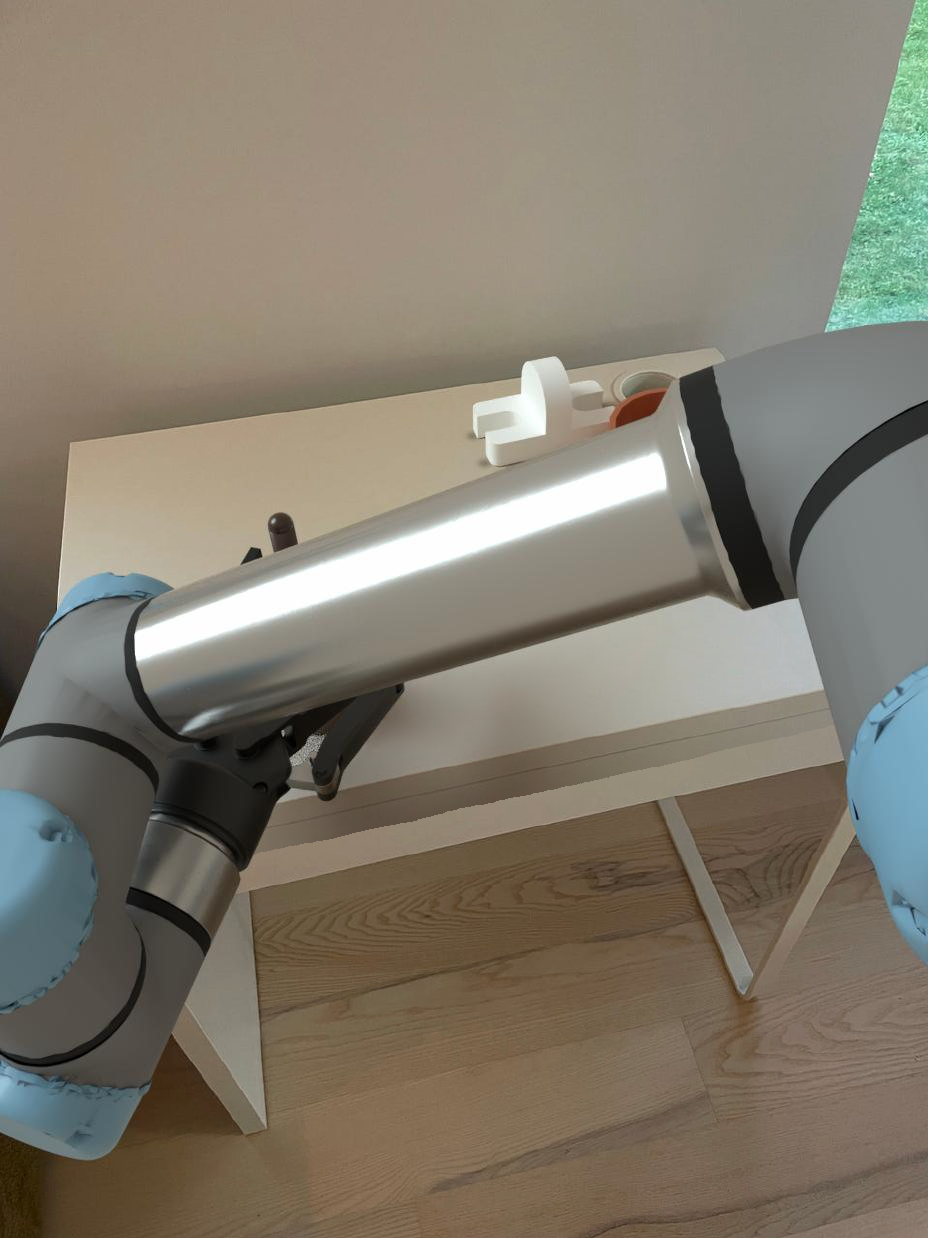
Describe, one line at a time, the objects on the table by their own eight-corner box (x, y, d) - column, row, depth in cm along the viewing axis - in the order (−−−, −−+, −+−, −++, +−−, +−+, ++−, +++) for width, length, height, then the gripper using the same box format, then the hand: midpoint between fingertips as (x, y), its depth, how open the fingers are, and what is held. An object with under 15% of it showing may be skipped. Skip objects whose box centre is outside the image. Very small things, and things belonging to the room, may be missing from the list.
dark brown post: (368, 692, 74) (336, 500, 60) (333, 744, 71) (292, 554, 57) (309, 671, 76) (266, 479, 61) (273, 720, 73) (218, 530, 58)
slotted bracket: (593, 400, 99) (598, 332, 93) (619, 440, 94) (627, 371, 88) (471, 425, 96) (469, 357, 91) (492, 467, 92) (492, 398, 86)
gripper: (34, 838, 59) (195, 583, 74) (374, 924, 55) (475, 636, 69) (-14, 770, 54) (171, 508, 68) (360, 860, 50) (473, 561, 64)
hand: (324, 573), depth 69 cm, fingers open, 9 cm apart
